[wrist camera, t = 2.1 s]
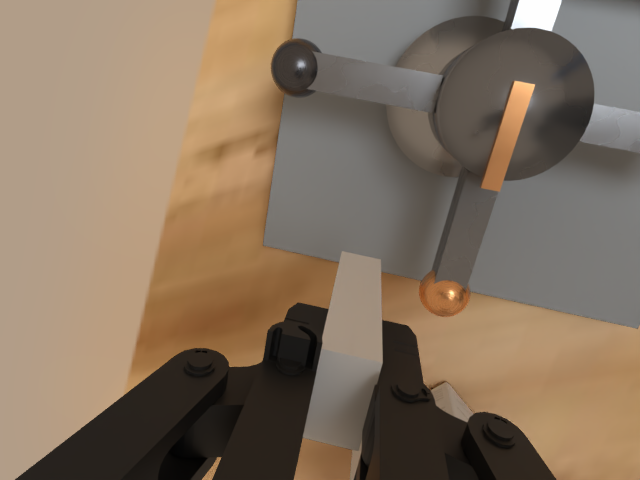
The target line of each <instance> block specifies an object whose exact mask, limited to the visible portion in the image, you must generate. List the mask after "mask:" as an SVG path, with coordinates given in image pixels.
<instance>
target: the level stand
mask: <svg viewBox="0 0 640 480" xmlns="http://www.w3.org/2000/svg"><path fill="white" fill-rule="evenodd" d="M510 2H511V0H298V2H297V9H296V16H295V23H294V30H293V37H292V39H294V38H302V39H306V40H309V41H311V42H312V43H314V44H315V45H316V46H317V47H318V48H319V49H320V50H321V52H322V53H324V54H329V55H335V56H340V57H345V58H351V59H356V60H362V61H367V62H372V63H378V64H383V65H389V66H394V67H396V65H397V63H398V61H399V60H400V58H401V56H402V55H403V54H404V52H405V51H406V50H407V48H408V47H409V46H410V45H411V44H412V43H413V42H414V41H415V40H416V39H417V38H418V37H420V36H421V35H422V34H423V33H424V32H426V31H428V30H429V29H431V28H432V27H434V26H436V25H438V24H440V23H442V22H445V21H448V20H451V19H454V18H459V17H464V16H484V17H490V18H494V19H498V20H501V21H503V22H505V19H506V15H507V12H508V8H509V5H510ZM551 32H554V33H556V34H558V35H560V36H562V37H564V38H565V39H567V40H568V41H570V42H571V43H572V44H573V45H574V46H575V47H576V48H577V49H578V50H579V51H580V52H581V54H582V55H583V56H584V58H585V60H586V61H587V63H588V66H589V68H590V70H591V73H592V77H593V82H594V91H595V93H594V104H599V105H604V106H610V107H615V108H620V109H626V110H631V111H637V112H640V0H562V1H561V4H560V7H559V10H558V13H557V16H556V19H555V22H554V25H553V28H552V31H551ZM458 178H459V177H447V176H441V175H437V174H434V173H431V172H429V171H427V170H424V169H423V168H421V167H419V166H418V165H416V164H415V163H414V162H412V161H411V160H410V159H409V158H408V157H407V156H406V155H405V154H404V153H403V152H402V150H401V149H400V148H399V146H398V145H397V143H396V141H395V139H394V137H393V135H392V132H391V130H390V127H389V123H388V118H387V109H386V104H382V103H377V102H372V101H367V100H362V99H356V98H351V97H346V96H341V95H336V94H331V93H325V92H320V91H316V92H315V93H313V94H312V95H310V96H307V97H303V98H295V97H291V96H288V95H286V94H285V93H284V100H283V107H282V114H281V121H280V128H279V135H278V142H277V149H276V156H275V163H274V170H273V177H272V184H271V192H270V199H269V206H268V213H267V220H266V227H265V234H264V241H263V246H268V247H272V248H277V249H281V250H286V251H290V252H295V253H299V254H304V255H308V256H313V257H317V258H322V259H326V260H331V261H335V262H340V257H341V253H342V251H344V252H348V253H353V254H358V255H362V256H367V257H372V258H376V259H381V272H385V273H389V274H394V275H398V276H403V277H407V278H412V279H416V280H421V281H422V279H423V278H424V276H425V275H426V274H427V273H428V272H430V271H431V270H432V267H433V263H434V260H435V256H436V253H437V250H438V246H439V243H440V239H441V236H442V233H443V229H444V226H445V222H446V219H447V216H448V212H449V209H450V205H451V202H452V199H453V195H454V192H455V188H456V185H457V182H458ZM468 284H469V287H470V292H475V293H479V294H484V295H488V296H493V297H497V298H502V299H506V300H511V301H515V302H520V303H524V304H529V305H533V306H538V307H542V308H547V309H551V310H556V311H560V312H565V313H569V314H574V315H578V316H583V317H587V318H592V319H596V320H601V321H605V322H610V323H614V324H619V325H623V326H628V327H632V328H637V329H638V327H639V325H640V153H637V152H632V151H627V150H622V149H616V148H611V147H606V146H601V145H596V144H590V143H585V142H580V141H579V142H578V144H577V145H576V146H575V147H574V149H573V150H572V151H571V152H570V153H569V154H568V155H567V156H566V157H565V158H564V159H563V160H561V161H560V162H559V163H558V164H556V165H555V166H553V167H552V168H550V169H548V170H547V171H544V172H542V173H540V174H538V175H535V176H533V177H530V178H526V179H521V180H514V181H503V183H502V186H501V189H500V192H498V195H497V198H496V201H495V204H494V207H493V210H492V213H491V216H490V219H489V222H488V225H487V228H486V231H485V234H484V237H483V240H482V243H481V246H480V249H479V252H478V255H477V258H476V261H475V264H474V267H473V270H472V273H471V276H470V279H469V282H468Z"/></svg>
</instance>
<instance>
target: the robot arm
mask: <svg viewBox="0 0 640 480" xmlns="http://www.w3.org/2000/svg"><path fill="white" fill-rule="evenodd" d="M417 347H418V345H417V339H416V335H415V334H414V333H413V332H412V330H411V329H410V328H409V326H407V325H402V324H398V323H393V322H389V321H384V320H382V294H381V259H376V258H372V257H367V256H362V255H358V254H353V253H348V252H344V251H342V253H341V257H340V262H339V266H338V270H337V275H336V279H335V284H334V288H333V292H332V297H331V301H330V306H329V309H325V308H321V307H316V306H312V305H307V304H303V303H297V304H296V305H294V306H293V307H291V308H290V309H289V310H288V312H287V315H286V317H285V320H284V322H280V323H277V324H275V325H272V326H271V328H270V329H269V330H268V333H267V339H266V346H265V352H264V358H263V361H262V362H261V363H259V364H257V365H253V366H249V367H229V362H228V361H227V359H226V358H225V356H223V355H222V354H220V353H219V352H217V351H214V350H210V349H206V348H194V349H190V350H185V351H183V352H181V353H179V354H177V355H176V356H174V357H173V358H172V359H170V360H169V361H168V362H167V363H165V364H164V365H163V366H161V367H160V368H159V369H158V370H156V371H155V372H154V373H152V374H151V375H150V376H148V377H147V378H146V379H145V380H143V381H142V382H141V383H139V384H138V385H137V386H136V387H134V388H133V389H132V390H130V391H129V392H128V393H126V394H125V395H124V396H123V397H121V398H120V399H119V400H117V401H116V402H115V403H114V404H112V405H111V406H110V407H108V408H107V409H106V410H105V411H103V412H102V413H101V414H99V415H98V416H97V417H96V418H94V419H93V420H92V421H90V422H89V423H88V424H86V425H85V426H84V427H82V428H81V429H80V430H79V431H77V432H76V433H75V434H73V435H72V436H71V437H70V438H68V439H67V440H66V441H65V442H63V443H62V444H61V445H59V446H58V447H57V448H55V449H54V450H53V451H52V452H50V453H49V454H48V455H46V456H45V457H44V458H42V459H41V460H40V461H38V462H37V463H36V464H35V465H33V466H32V467H31V468H29V469H28V470H27V471H26V472H24V473H23V474H22V475H20V476H19V477H18V478H17V479H15V480H202V478H203V477H204V476H205V474H206V473H207V472H208V471H209V469H210V468H211V467H212V466H213V464H214V462H215V460H216V458H217V457H222V458H221V460H220V463H219V465H218V467H217V470H216V472H215V474H214V477H213V479H212V480H294V476H295V471H296V466H297V462H298V457H299V452H300V447H301V443H302V438H306V439H310V440H314V441H318V442H322V443H326V444H330V445H334V446H338V447H343V448H347V449H351V450H355V451H359V447H360V444H361V440H362V449H361V455H360V459H359V462H358V466H357V469H356V473H355V477H354V480H556V478H555V477H554V476H553V474H552V473H551V471H550V470H549V468H548V467H547V466H546V464H545V463H544V461H543V460H542V458H541V457H540V456H539V454H538V453H537V451H536V450H535V448H534V447H533V446H532V444H531V443H530V441H529V440H528V438H527V437H526V436H525V435H524V433H523V432H522V431H521V430H520V429H519V428H518V427H517V426H515V425H514V424H513V423H511V422H510V421H508V420H507V419H505V418H503V417H500V416H498V415H496V414H492V413H487V412H480V413H475V414H473V415H472V416H470V417H469V420H468V422H465V421H463V420H461V419H459V418H457V417H454V416H452V415H450V414H448V413H447V412H445V411H443V410H442V409H440V408H439V407H438V406H436V404H435V399H434V396H433V394H432V392H431V391H430V390H429V389H428V388H427V387H426V385H425V384H424V383H423V377H422V371H421V364H420V358H419V352H418V348H417Z"/></svg>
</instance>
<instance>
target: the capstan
mask: <svg viewBox="0 0 640 480" xmlns="http://www.w3.org/2000/svg"><path fill="white" fill-rule="evenodd" d="M561 1H562V0H511V2H510V5H509V8H508V12H507V15H506V19H505V22H503V21H501V20H498V19H494V18H490V17H484V16H464V17H459V18H454V19H451V20H448V21H445V22H442V23H440V24H438V25H436V26H434V27H432V28H431V29H429V30H428V31H426V32H424V33H423V34H422V35H421V36H420V37H418V38H417V39H416V40H415V41H414V42H413V43H412V44H411V45H410V46H409V47H408V48H407V50H406V51H405V52H404V54H403V55H402V56H401V58H400V60H399V61H398V63H397V65H396V67H394V66H389V65H383V64H378V63H372V62H367V61H362V60H356V59H351V58H345V57H340V56H335V55H329V54H324V53H322V52H321V50H320V49H319V48H318V47H317V46H316V45H315V44H314V43H312V42H311V41H309V40H306V39H302V38H294V39H290V40H288V41H286V42H284V43H283V44H281V45H280V46H279V47H278V48H277V50H276V51H275V53H274V55H273V58H272V62H271V73H272V77H273V80H274V82H275V84H276V85H277V87H278V88H279V89H280V90H281V91H282V92H283V93H285V94H286V95H288V96H291V97H295V98H303V97H307V96H310V95H312V94H313V93H315V92H316V91H320V92H325V93H331V94H336V95H341V96H346V97H351V98H356V99H362V100H367V101H372V102H377V103H382V104H386V109H387V118H388V123H389V127H390V130H391V132H392V135H393V137H394V139H395V141H396V143H397V145H398V146H399V148H400V149H401V150H402V152H403V153H404V154H405V155H406V156H407V157H408V158H409V159H410V160H411V161H412V162H414V163H415V164H416V165H418V166H419V167H421V168H423V169H424V170H427V171H429V172H431V173H434V174H437V175H441V176H447V177H459V178H458V182H457V185H456V188H455V192H454V195H453V199H452V202H451V205H450V209H449V212H448V216H447V219H446V222H445V226H444V229H443V233H442V236H441V239H440V243H439V246H438V250H437V253H436V256H435V260H434V263H433V267H432V270H431V271H430V272H428V273H427V274H426V275H425V276H424V278H423V279H422V281H421V283H420V287H419V296H420V299H421V302H422V304H423V305H424V307H425V308H426V309H427V310H428V311H430V312H431V313H433V314H435V315H437V316H441V317H450V316H454V315H456V314H458V313H460V312H461V311H462V310H463V309H464V308H465V307H466V306H467V304H468V302H469V299H470V287H469V284H468V282H469V279H470V276H471V273H472V270H473V267H474V264H475V261H476V258H477V255H478V252H479V249H480V246H481V243H482V240H483V237H484V234H485V231H486V228H487V225H488V222H489V219H490V216H491V213H492V210H493V207H494V204H495V201H496V198H497V195H498V192H500V189H501V186H502V183H503V181H514V180H521V179H526V178H530V177H533V176H535V175H538V174H540V173H542V172H544V171H547V170H548V169H550V168H552V167H553V166H555V165H556V164H558V163H559V162H560V161H561V160H563V159H564V158H565V157H566V156H567V155H568V154H569V153H570V152H571V151H572V150H573V149H574V147H575V146H576V145H577V144H578V142H579V141H580V142H585V143H590V144H596V145H601V146H606V147H611V148H616V149H622V150H627V151H632V152H637V153H640V112H637V111H631V110H626V109H620V108H615V107H610V106H604V105H599V104H594V93H595V91H594V82H593V77H592V73H591V70H590V68H589V66H588V63H587V61H586V60H585V58H584V56H583V55H582V54H581V52H580V51H579V50H578V49H577V48H576V47H575V46H574V45H573V44H572V43H571V42H570V41H568V40H567V39H565V38H564V37H562V36H560V35H558V34H556V33H554V32H551V31H552V28H553V25H554V22H555V19H556V16H557V13H558V10H559V7H560V4H561Z"/></svg>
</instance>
